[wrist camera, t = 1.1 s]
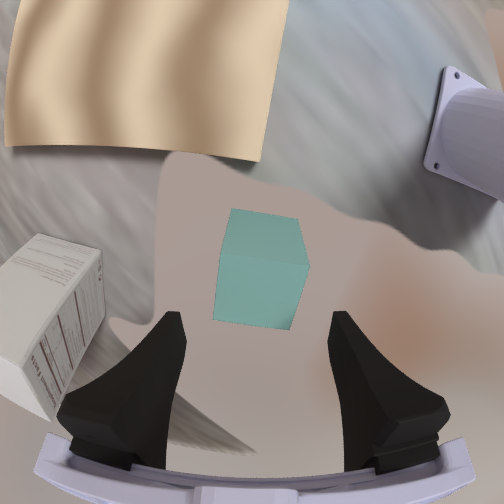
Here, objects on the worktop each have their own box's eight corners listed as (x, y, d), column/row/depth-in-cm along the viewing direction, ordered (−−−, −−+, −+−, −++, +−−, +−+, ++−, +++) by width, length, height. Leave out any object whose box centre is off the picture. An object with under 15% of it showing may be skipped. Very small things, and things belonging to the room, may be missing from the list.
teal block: (297, 219, 20) (309, 266, 15) (283, 273, 22) (289, 330, 17) (231, 208, 20) (220, 252, 14) (224, 264, 22) (212, 319, 17)
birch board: (300, -58, 10) (302, -68, 9) (259, 157, 18) (259, 162, 17) (43, -32, 9) (32, -36, 8) (16, 142, 17) (4, 146, 15)
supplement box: (47, 293, 24) (-17, 385, 13) (38, 229, 21) (-54, 320, 10) (108, 315, 25) (53, 426, 14) (105, 249, 22) (18, 368, 11)
